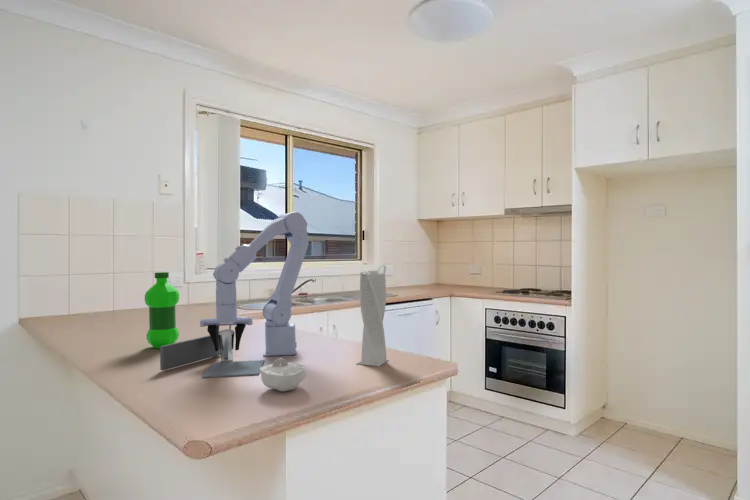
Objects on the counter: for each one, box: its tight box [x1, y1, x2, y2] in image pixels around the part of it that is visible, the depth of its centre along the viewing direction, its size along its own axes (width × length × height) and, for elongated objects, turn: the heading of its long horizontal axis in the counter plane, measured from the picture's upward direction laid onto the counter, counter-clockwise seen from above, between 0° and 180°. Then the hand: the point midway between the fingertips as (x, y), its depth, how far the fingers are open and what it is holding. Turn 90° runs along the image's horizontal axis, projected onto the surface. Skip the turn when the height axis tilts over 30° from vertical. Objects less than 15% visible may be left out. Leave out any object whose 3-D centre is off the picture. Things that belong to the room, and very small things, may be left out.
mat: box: [201, 359, 265, 379], centre depth 125 cm, size 14×14×1 cm
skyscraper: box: [356, 264, 390, 368], centre depth 129 cm, size 8×8×28 cm
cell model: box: [260, 357, 306, 392], centre depth 107 cm, size 10×12×7 cm
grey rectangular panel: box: [159, 334, 221, 371], centre depth 132 cm, size 2×20×7 cm, turn 151°
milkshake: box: [218, 325, 235, 362], centre depth 135 cm, size 4×5×10 cm
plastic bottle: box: [144, 271, 180, 349], centre depth 154 cm, size 10×10×25 cm
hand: (227, 350), depth 135 cm, fingers open, 5 cm apart
